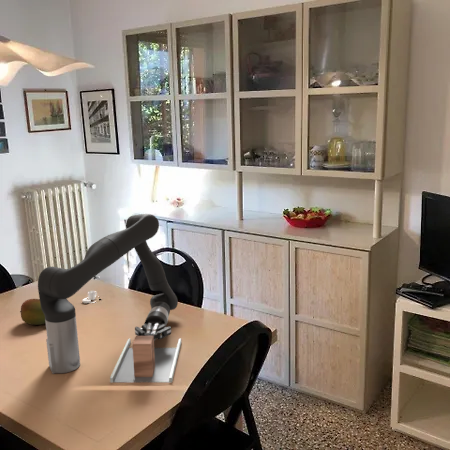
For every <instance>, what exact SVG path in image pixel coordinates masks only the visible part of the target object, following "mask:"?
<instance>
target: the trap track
mask: <svg viewBox="0 0 450 450" xmlns="http://www.w3.org/2000/svg"><path fill="white" fill-rule="evenodd" d="M131 341H132V340H131V338H128V339H127V340H126V343H125V345H124V347H123V349H122V352H121V353H120V355H119V358H118V360H117V362H116V364H115V366H114V368H113V370H112V372H111V375H110V376H109V377H110V378H109V383H111V384H112V383H113V384H114V383H115V384H116V383H173V381H174V380H173V379H174V375H175V372H176V366H177V364H178V363H177V362H178V358H179V354H180V351H181V346H182V338H178V340H177V341H178V342H177V344H176V347H154V355H155V370H154V373H153V377H134V362H133V347H130V345H131V344H132V342H131Z"/></svg>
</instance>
